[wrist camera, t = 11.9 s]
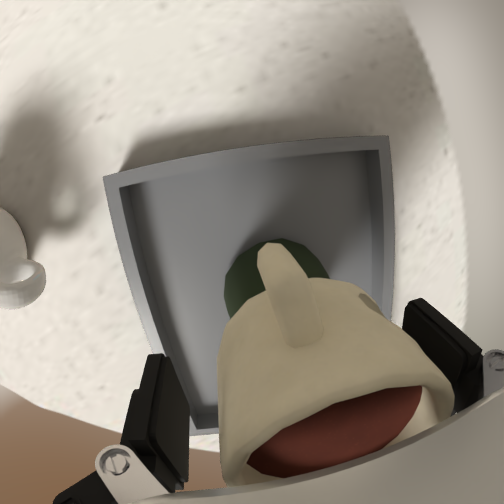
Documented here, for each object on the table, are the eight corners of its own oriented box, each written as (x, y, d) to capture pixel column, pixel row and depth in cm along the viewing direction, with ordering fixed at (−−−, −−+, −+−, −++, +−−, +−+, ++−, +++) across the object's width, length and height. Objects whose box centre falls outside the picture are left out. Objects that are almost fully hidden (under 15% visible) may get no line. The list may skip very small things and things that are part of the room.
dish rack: (117, 174, 16) (53, 186, 9) (368, 137, 17) (448, 132, 10) (191, 414, 23) (187, 488, 15) (368, 378, 23) (407, 439, 16)
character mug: (341, 329, 20) (434, 471, 8) (249, 364, 20) (280, 533, 8) (301, 182, 17) (472, 241, 5) (186, 224, 17) (118, 379, 5)
